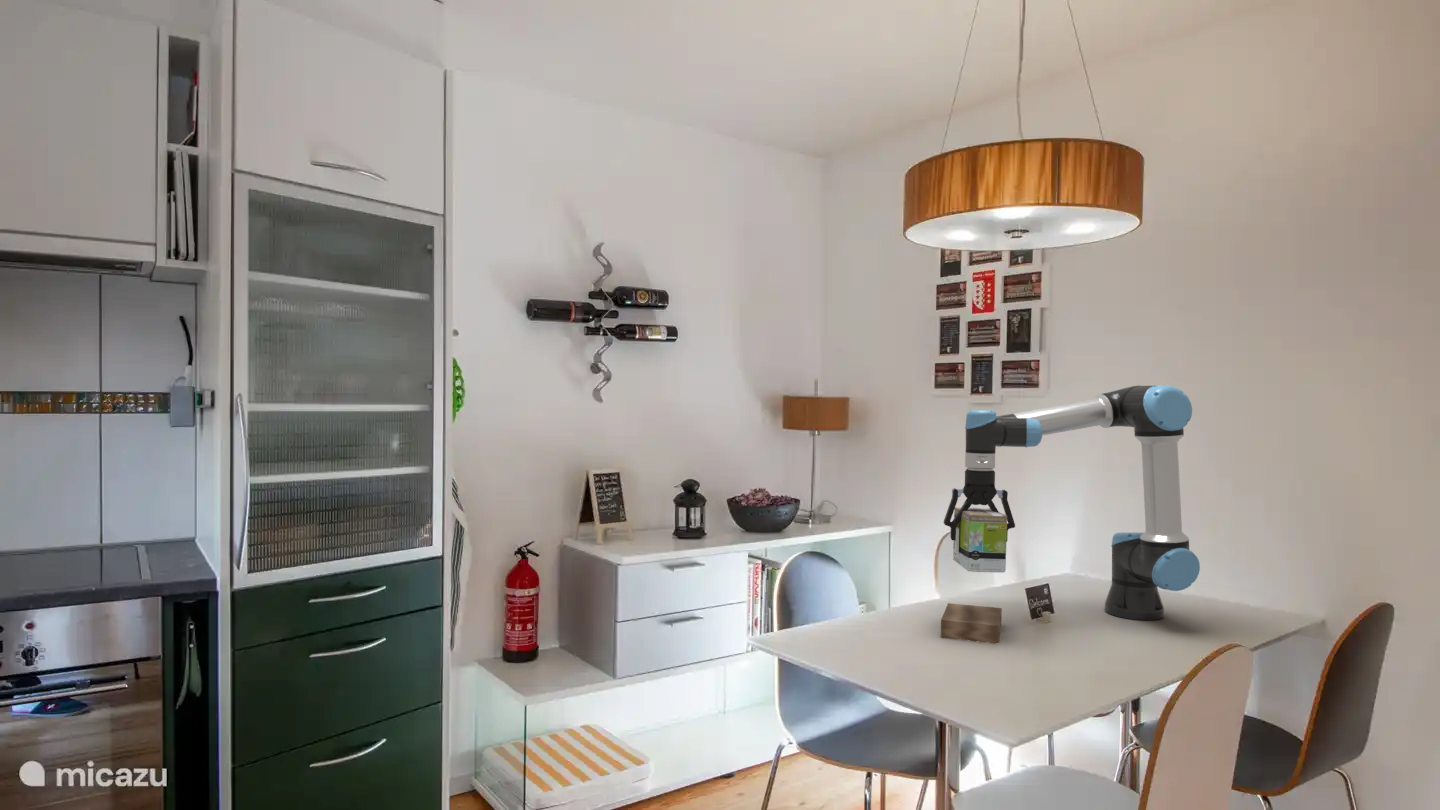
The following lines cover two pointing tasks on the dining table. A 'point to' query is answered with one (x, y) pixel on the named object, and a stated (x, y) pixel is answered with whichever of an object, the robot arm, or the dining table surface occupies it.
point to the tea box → (982, 540)
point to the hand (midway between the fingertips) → (978, 553)
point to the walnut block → (971, 623)
